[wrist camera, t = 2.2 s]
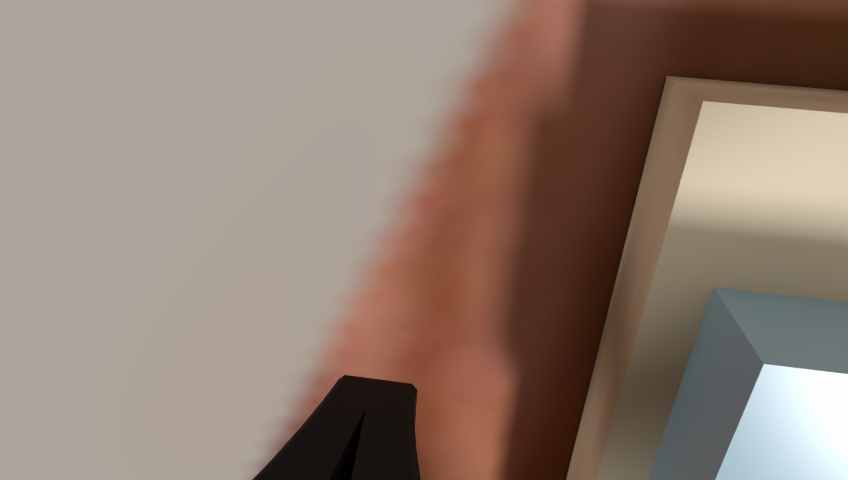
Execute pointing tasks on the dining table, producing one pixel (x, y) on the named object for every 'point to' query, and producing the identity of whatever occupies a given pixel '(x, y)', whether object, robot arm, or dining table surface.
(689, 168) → the beige flat square slab
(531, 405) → the dining table surface
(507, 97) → the dining table surface
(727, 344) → the light blue block
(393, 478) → the robot arm
